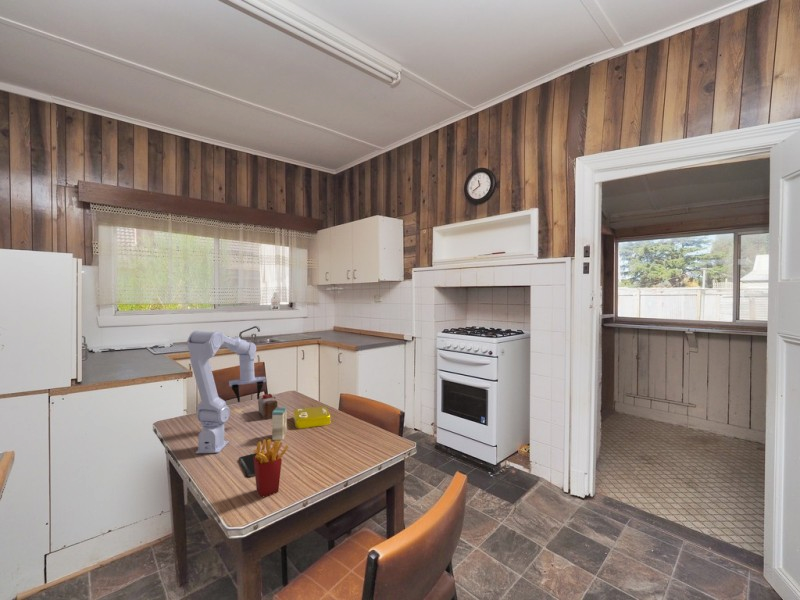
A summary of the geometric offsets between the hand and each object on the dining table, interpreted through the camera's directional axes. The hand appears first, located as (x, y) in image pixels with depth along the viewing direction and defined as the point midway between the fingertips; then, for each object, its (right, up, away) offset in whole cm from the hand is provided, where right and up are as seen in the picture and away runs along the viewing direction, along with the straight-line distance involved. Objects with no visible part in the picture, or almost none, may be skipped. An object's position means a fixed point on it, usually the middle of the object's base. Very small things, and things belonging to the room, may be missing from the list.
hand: (248, 399), depth 152 cm
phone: (+17, -13, -35) cm, 41 cm away
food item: (+3, -11, +14) cm, 18 cm away
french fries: (+28, -13, -49) cm, 57 cm away
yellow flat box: (+26, -12, +6) cm, 29 cm away
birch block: (+17, -12, -12) cm, 24 cm away
